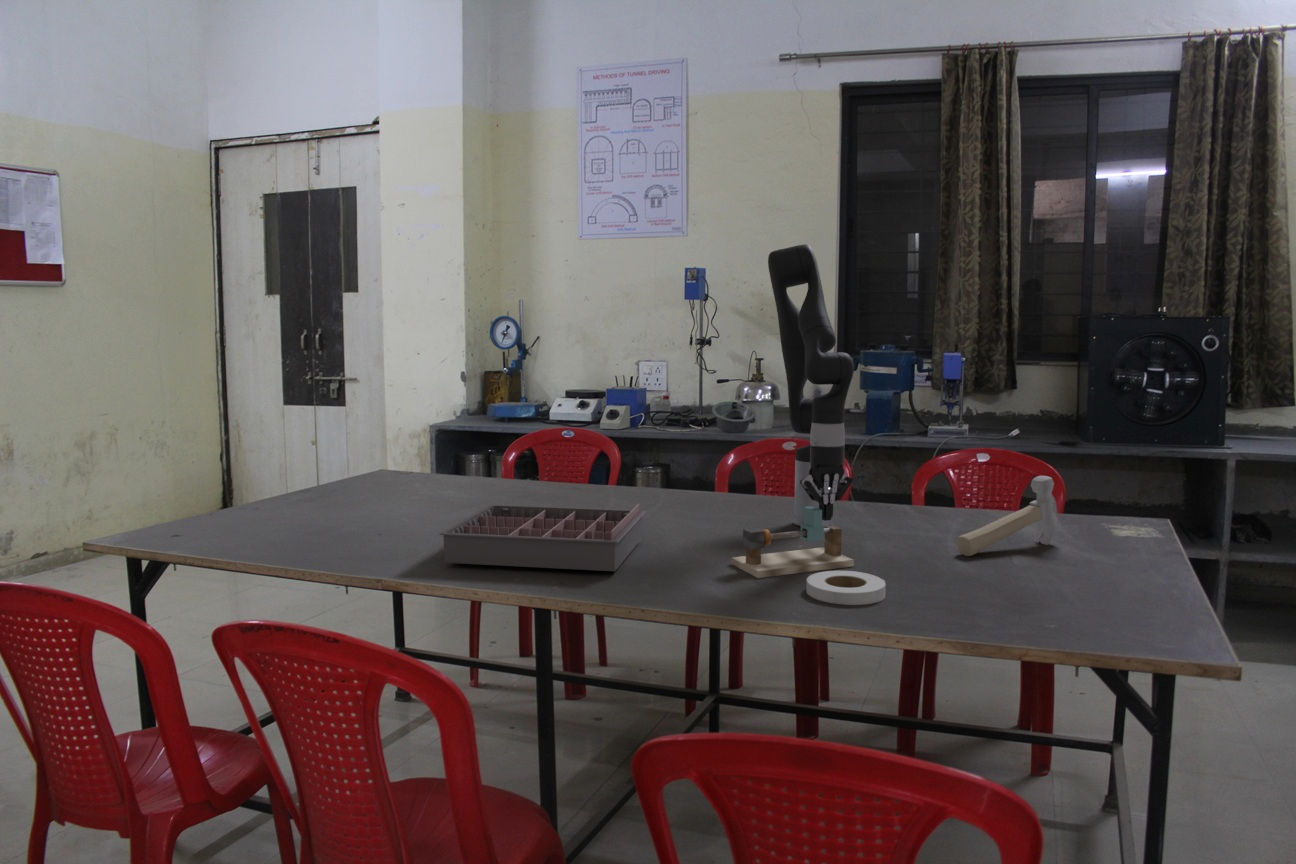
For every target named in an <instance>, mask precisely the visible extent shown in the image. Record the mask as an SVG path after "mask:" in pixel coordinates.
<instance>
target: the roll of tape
mask: <svg viewBox="0 0 1296 864" xmlns="http://www.w3.org/2000/svg"><path fill="white" fill-rule="evenodd" d="M805 588H806V591H805V592H806V594H807V595H808V596H809V597H811V598H812V599H814V600H817V601H820V602H825V603H829V604H837V605H845V606H847V605H848V606H857V605H861V606H862V605H871V604H876V603H879V602H881V601H884V599H885V598H886V588H887V587H886V581H885V579H884V578H881V577H879V576H877V575H873V574H871V573H867V572H861V571H855V570H854V571H853V570H824V571H820V572H816V573H813V574H809V576H808V577H807V578H806V587H805Z"/></svg>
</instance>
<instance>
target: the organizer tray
mask: <svg viewBox="0 0 1296 864" xmlns="http://www.w3.org/2000/svg"><path fill="white" fill-rule="evenodd" d="M646 513H647V511H646V510H640V503H637V504H636V505H635V506H634V507H633V508H632V509H609V508H585V507H582V508H581V507H560V506H559V507H556V506H554V507H553V506H533V505H532V506H531V505H530V506H529V505H510V504H507V505H506V504H505V505H503V504H490V505H488V506H486V507H484V508H482V509H480V510H479V511H477V512H475V513H474V514H472V515H470V516H469V517H466V518H465V519H463V520H462V521H459V522H458V523H456V524H454V525H453V526H451V527H449V528H447V529H445V530H444V531H442V532H440V533H439V536H442V537H443V563H444V564H446V563H447V564H464V565H465V564H466V565H480V566H481V565H484V566H503V567H521V568H522V567H523V568H525V567H526V568H543V569H544V568H545V569H562V570H580V571H582V570H583V571H585V570H586V571H598V572H599V571H600V572H601V571H603V572H604V571H605V572H606V571H607V572H616V571H617V570H618V568H619V567H620V566H621V565H622V564H623V562H624V561H625V560H626V558H628V557H629V555H630V553H632V551H633V550H634V549H635V548H636V546H637V545H638V544H639V542H641V541H642V539H643V531H644V530H643V529H644V528H643V527H644V524H643V523H644V521H643V520H644V518H643V517H644V515H645V514H646Z"/></svg>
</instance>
